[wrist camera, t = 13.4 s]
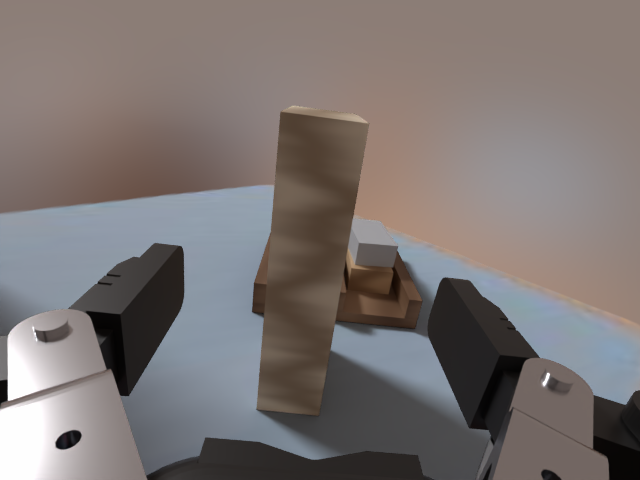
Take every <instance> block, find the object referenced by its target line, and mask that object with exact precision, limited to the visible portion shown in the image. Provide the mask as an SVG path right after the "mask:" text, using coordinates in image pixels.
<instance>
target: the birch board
mask: <svg viewBox="0 0 640 480" xmlns="http://www.w3.org/2000/svg"><path fill="white" fill-rule="evenodd" d="M368 127H369V123H368V122H366V121H365V120H364V119H362V118H361V117H359V116H358V115H356V114H351V113H343V112H336V111H328V110H321V109H314V108H306V107H300V106H299V107H298V106H291V107H289V108H287V109H285V110H283V111H281V113H280V125H279V137H278V151H277V162H276V175H275V187H274V199H273V212H272V224H271V237H270V249H269V261H268V274H267V286H266V298H265V311H264V323H263V336H262V348H261V360H260V373H259V385H258V398H257V410H266V411H276V412H285V413H295V414H305V415H315V416H319V413H320V407H321V401H322V395H323V390H324V384H325V378H326V372H327V366H328V361H329V355H330V349H331V343H332V337H333V332H334V326H335V320H336V314H337V308H338V302H339V297H340V291H341V285H342V279H343V273H344V268H345V262H346V256H347V250H348V244H349V238H350V233H351V227H352V221H353V215H354V209H355V204H356V197H357V192H358V185H359V180H360V174H361V168H362V162H363V157H364V151H365V145H366V139H367V133H368Z"/></svg>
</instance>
